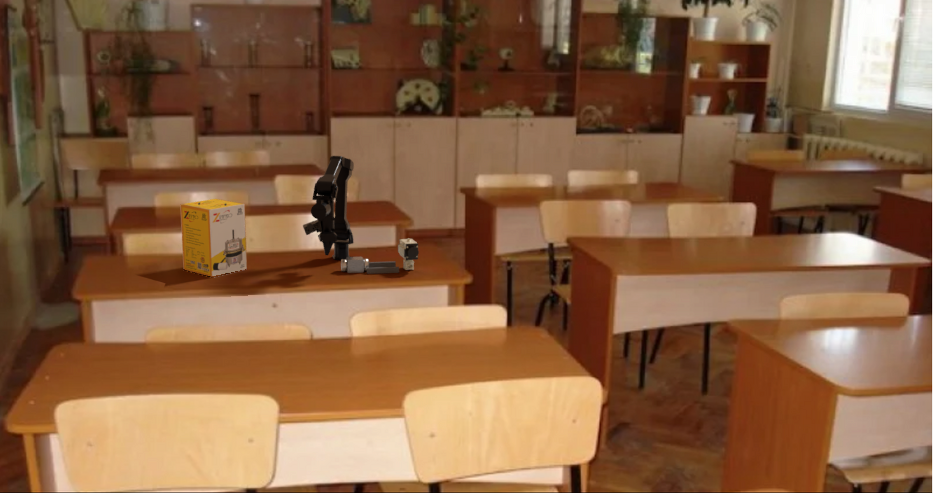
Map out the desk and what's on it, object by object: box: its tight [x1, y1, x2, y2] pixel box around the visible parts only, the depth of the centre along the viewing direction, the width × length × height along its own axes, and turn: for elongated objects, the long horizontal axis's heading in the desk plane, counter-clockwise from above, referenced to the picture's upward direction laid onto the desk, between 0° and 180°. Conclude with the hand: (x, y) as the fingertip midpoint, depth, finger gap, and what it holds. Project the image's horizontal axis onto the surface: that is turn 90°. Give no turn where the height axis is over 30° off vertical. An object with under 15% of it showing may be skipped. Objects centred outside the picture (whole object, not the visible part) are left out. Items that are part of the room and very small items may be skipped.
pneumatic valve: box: [397, 237, 420, 271], centre depth 341 cm, size 6×12×12 cm, turn 20°
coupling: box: [340, 256, 370, 274], centre depth 337 cm, size 5×10×5 cm, turn 103°
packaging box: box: [179, 198, 248, 276], centre depth 331 cm, size 16×16×25 cm
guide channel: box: [366, 260, 400, 275], centre depth 339 cm, size 9×12×2 cm
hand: (326, 255), depth 334 cm, fingers closed
